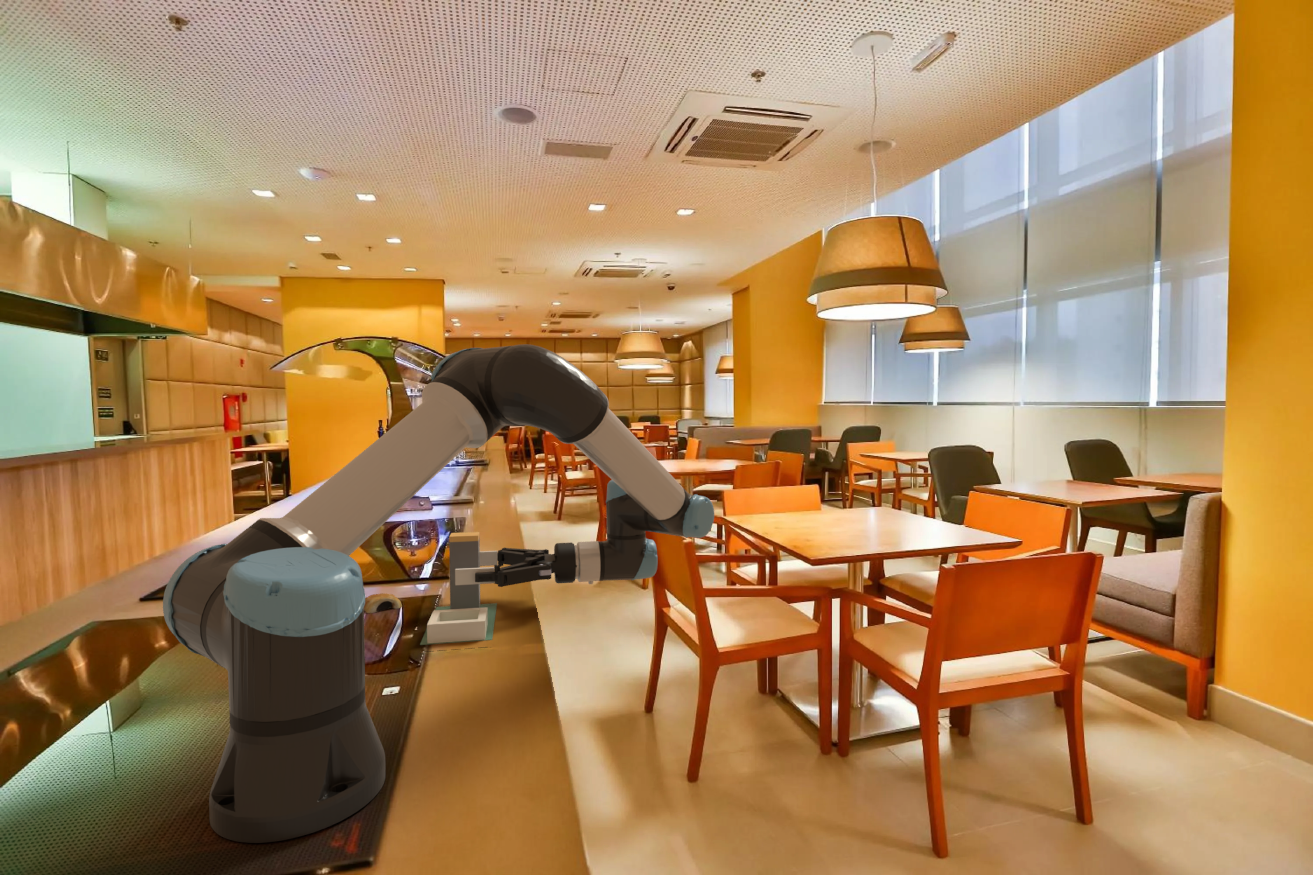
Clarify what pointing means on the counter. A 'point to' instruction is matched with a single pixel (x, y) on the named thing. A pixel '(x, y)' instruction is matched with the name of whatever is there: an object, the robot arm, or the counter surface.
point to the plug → (464, 556)
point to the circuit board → (489, 636)
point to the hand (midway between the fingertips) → (459, 567)
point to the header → (457, 625)
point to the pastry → (381, 602)
